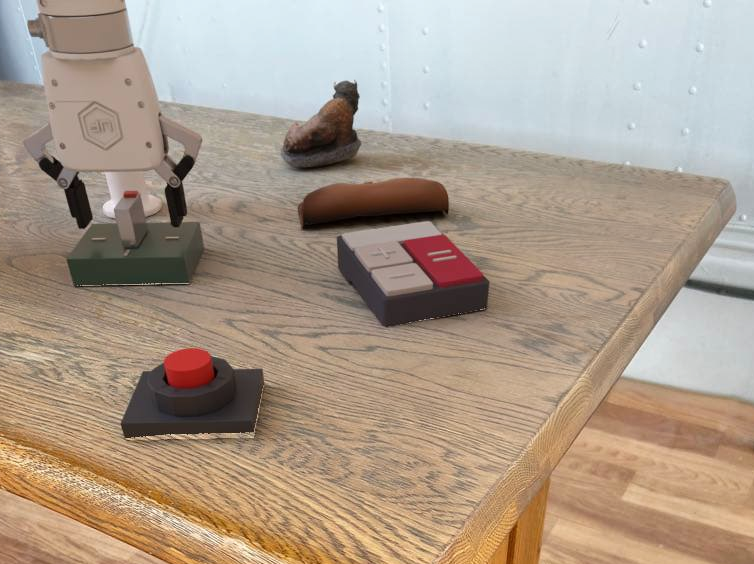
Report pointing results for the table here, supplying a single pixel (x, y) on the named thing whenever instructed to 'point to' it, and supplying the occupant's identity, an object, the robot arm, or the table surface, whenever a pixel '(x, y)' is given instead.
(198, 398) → the button box
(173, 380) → the red button
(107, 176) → the candle
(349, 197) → the sunglasses case
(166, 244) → the panel
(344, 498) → the table surface
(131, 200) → the block knob
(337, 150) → the animal figurine
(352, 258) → the calculator
